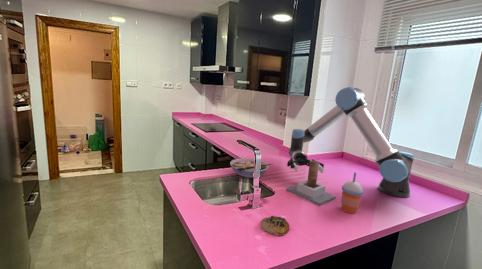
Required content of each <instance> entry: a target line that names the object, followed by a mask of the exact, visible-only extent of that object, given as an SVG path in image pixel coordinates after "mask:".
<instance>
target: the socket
mask: <svg viewBox="0 0 482 269" xmlns="http://www.w3.org/2000/svg"><path fill="white" fill-rule="evenodd" d="M326 187H327V186H325V185H324V184H321V183H318V182H316V188H311V187H308V186H307V180H305V181H301V182H299V183H297V184H295V185H293V186H290V187H286V189H285V191H286V192H289V193H291V194H293V195H295V196H298V197H300V198H302V199H304V200H306V201H308V202H311V203H313V204H314V205H316V206H319V207H320V206H323V205H325V204H327V203H329V202H331V201H333V200H335V199H336V195H333V194H331V193H329V192H326Z"/></svg>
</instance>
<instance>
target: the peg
mask: <svg viewBox="0 0 482 269" xmlns="http://www.w3.org/2000/svg"><path fill="white" fill-rule="evenodd" d="M318 167H319V161H318V160H315V161H310V164H309V166H308V172H307V173H308V174H307V179H306V181H307V186H308V187H311V188H316V183H318V180H317V179H318V173H319V170H318Z"/></svg>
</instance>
